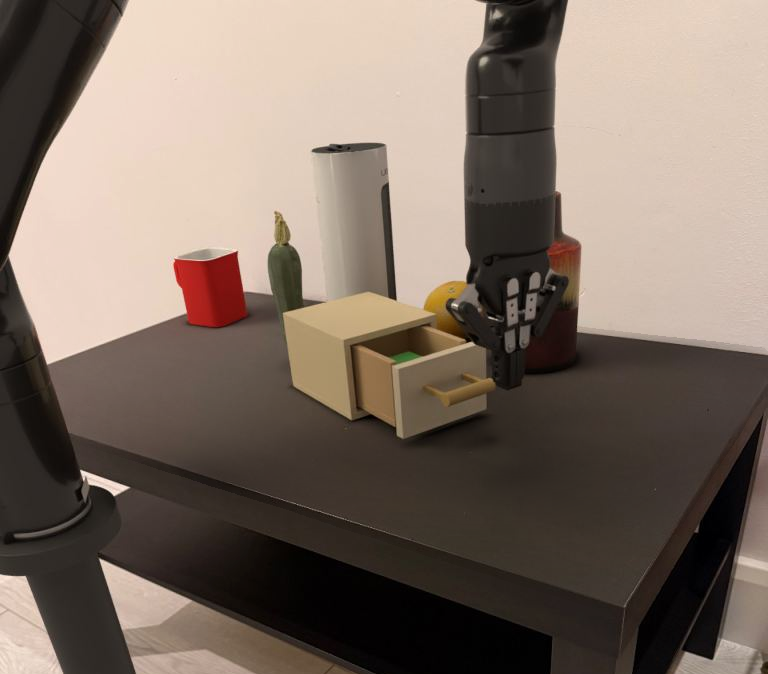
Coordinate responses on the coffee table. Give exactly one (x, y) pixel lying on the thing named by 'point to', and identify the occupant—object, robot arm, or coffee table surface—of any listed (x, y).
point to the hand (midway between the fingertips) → (508, 386)
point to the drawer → (420, 379)
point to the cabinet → (341, 343)
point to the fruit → (438, 306)
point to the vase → (559, 306)
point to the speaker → (354, 219)
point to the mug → (211, 286)
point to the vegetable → (284, 272)
